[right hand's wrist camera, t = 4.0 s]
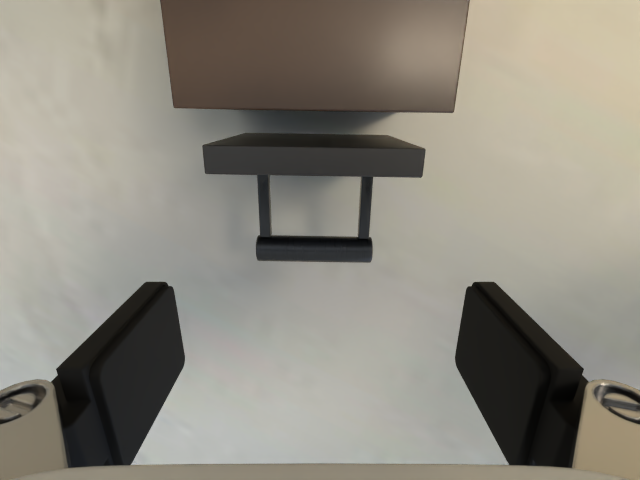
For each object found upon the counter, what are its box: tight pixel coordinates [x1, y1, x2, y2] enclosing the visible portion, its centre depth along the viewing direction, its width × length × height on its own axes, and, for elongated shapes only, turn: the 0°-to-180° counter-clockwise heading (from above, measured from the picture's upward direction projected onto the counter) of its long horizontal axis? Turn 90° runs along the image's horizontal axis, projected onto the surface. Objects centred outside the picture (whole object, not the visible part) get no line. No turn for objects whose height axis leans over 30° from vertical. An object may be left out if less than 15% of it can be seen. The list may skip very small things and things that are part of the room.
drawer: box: [202, 133, 425, 263], centre depth 16 cm, size 25×9×9 cm, turn 179°
